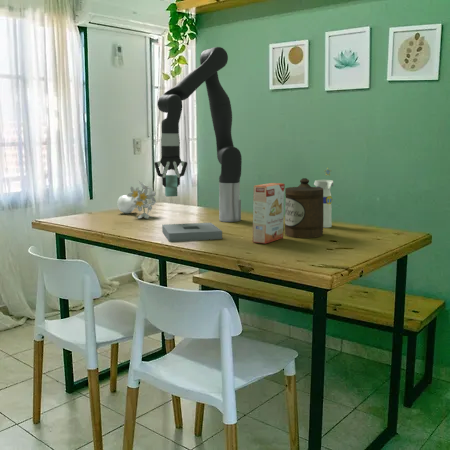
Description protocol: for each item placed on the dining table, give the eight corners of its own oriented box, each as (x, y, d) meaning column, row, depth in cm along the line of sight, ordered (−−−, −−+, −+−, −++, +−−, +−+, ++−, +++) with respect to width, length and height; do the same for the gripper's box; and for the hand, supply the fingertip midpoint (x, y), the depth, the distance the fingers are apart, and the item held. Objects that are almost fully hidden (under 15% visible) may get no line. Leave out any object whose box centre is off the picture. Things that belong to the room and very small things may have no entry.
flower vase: (119, 227, 273) (142, 220, 253) (107, 191, 271) (129, 182, 251) (141, 220, 280) (165, 213, 260) (129, 185, 279) (153, 175, 259)
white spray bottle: (337, 226, 235) (339, 167, 231) (323, 228, 230) (325, 168, 226) (322, 223, 241) (324, 166, 237) (308, 225, 236) (310, 167, 232)
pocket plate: (211, 229, 227) (210, 222, 227) (222, 238, 208) (222, 231, 208) (162, 231, 223) (162, 224, 222) (169, 241, 204) (168, 233, 203)
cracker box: (266, 244, 198) (267, 186, 194) (251, 242, 201) (252, 185, 198) (284, 238, 209) (285, 182, 206) (270, 236, 213) (271, 182, 209)
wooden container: (278, 232, 221) (279, 177, 218) (311, 230, 226) (312, 176, 223) (295, 239, 207) (296, 180, 204) (330, 236, 212) (331, 179, 209)
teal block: (175, 195, 232) (175, 174, 231) (177, 196, 228) (177, 175, 226) (165, 195, 231) (164, 174, 230) (166, 196, 227) (166, 175, 225)
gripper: (186, 144, 231) (186, 185, 234) (151, 144, 228) (152, 186, 231) (189, 145, 224) (189, 187, 227) (153, 145, 221) (154, 188, 224)
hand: (171, 186), depth 229 cm, fingers closed on teal block, 4 cm apart
